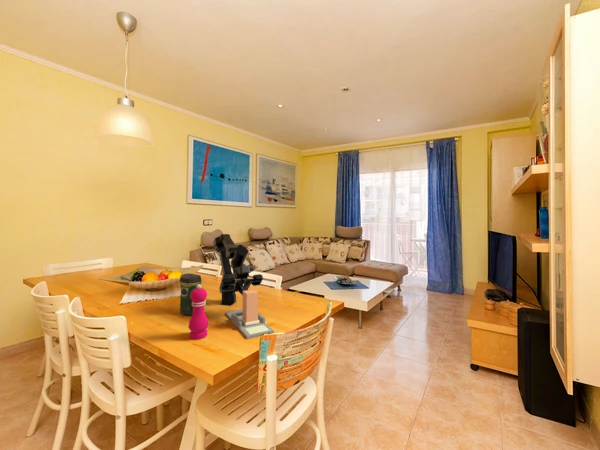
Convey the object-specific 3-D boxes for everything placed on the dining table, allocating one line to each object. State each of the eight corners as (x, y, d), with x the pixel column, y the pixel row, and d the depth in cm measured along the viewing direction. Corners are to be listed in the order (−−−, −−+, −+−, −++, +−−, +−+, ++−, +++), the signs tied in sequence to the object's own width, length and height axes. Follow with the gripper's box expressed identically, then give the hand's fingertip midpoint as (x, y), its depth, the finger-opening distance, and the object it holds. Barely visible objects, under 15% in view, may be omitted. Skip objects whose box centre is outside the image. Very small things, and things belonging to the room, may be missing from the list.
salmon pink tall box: (241, 320, 116) (241, 290, 116) (254, 318, 119) (254, 289, 119) (245, 325, 111) (245, 294, 111) (259, 323, 114) (259, 292, 114)
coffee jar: (204, 312, 130) (204, 273, 130) (190, 317, 124) (190, 276, 123) (191, 308, 135) (191, 271, 135) (176, 313, 128) (176, 274, 128)
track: (225, 313, 128) (225, 307, 128) (248, 310, 134) (248, 304, 134) (247, 338, 102) (247, 331, 102) (273, 332, 108) (273, 325, 108)
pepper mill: (191, 332, 107) (192, 282, 107) (210, 331, 108) (210, 281, 108) (185, 340, 100) (185, 286, 100) (205, 340, 101) (206, 286, 100)
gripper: (221, 259, 119) (228, 290, 110) (261, 257, 128) (271, 285, 119) (217, 274, 126) (223, 304, 117) (255, 270, 135) (264, 298, 126)
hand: (246, 297), depth 119 cm, fingers closed
